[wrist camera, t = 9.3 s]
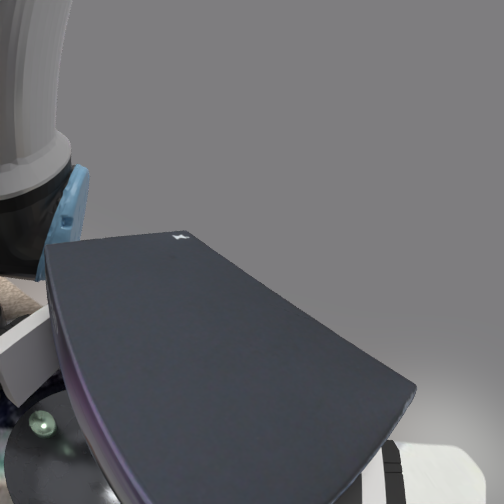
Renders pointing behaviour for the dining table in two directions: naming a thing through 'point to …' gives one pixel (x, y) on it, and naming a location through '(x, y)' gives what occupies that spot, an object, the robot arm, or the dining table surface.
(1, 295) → the dining table surface
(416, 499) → the dining table surface
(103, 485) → the plate
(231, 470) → the small box
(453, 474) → the dining table surface
